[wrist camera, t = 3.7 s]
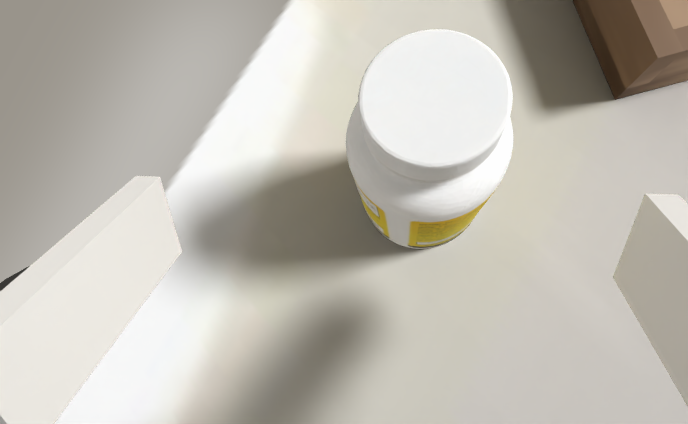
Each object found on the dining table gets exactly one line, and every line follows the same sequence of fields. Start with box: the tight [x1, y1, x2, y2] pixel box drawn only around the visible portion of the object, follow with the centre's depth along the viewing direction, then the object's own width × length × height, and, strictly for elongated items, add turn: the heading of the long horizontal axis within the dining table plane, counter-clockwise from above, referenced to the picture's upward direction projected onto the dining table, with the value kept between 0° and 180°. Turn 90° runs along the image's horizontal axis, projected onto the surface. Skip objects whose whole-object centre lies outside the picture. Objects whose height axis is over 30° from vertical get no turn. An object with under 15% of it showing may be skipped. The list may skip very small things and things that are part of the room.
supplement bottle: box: [346, 29, 513, 249], centre depth 16 cm, size 5×5×10 cm
